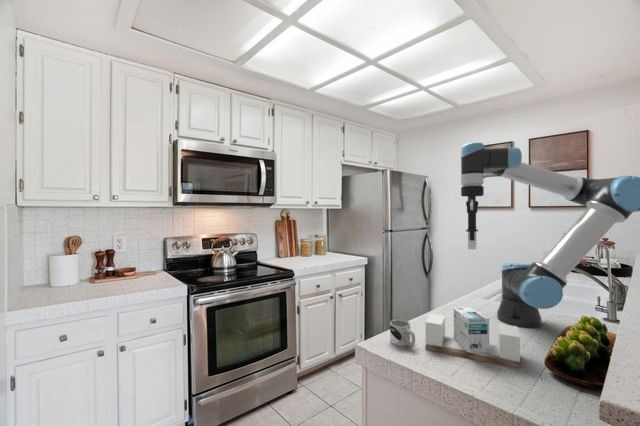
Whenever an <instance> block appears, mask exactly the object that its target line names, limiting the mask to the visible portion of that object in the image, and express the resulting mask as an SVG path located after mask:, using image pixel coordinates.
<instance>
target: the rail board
mask: <svg viewBox="0 0 640 426" xmlns="http://www.w3.org/2000/svg"><path fill="white" fill-rule="evenodd" d="M426 350H427V351H431V352H435V353H442V354H447V355H450V356H456V357H462V358H466V359H470V360H471V359H472V360H476V361H482V362H487V363H492V364H496V365H500V366H501V365H502V366H505V367H511V368H516V369H521V360H520V361H515V360H510V359H505V358H500V354H499V345H495V344H490V343H489V353H468V352H467V351H466V350H465V349H464V348H463V347H462V346H461V345H460V344H459V343H458V342H457V341H456V340H455V339H454V337H449V336H445V338H444V341H443V345H442V346H437V345H432V344H426V343H425V351H426Z"/></svg>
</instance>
